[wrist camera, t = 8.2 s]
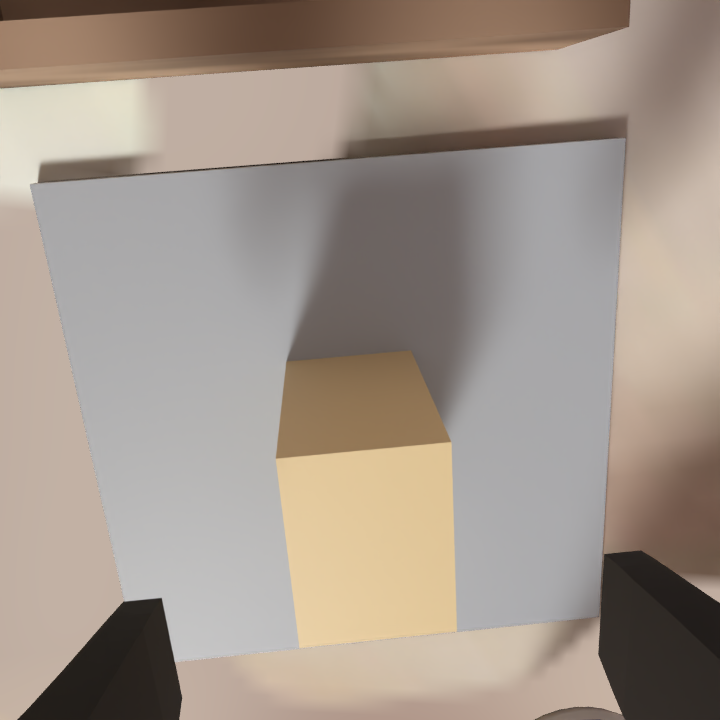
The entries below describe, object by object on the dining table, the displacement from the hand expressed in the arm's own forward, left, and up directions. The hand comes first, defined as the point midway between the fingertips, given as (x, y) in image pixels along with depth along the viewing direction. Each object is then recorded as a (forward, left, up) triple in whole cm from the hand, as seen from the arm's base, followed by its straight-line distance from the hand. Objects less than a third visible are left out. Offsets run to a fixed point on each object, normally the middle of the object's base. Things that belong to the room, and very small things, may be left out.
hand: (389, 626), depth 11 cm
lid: (0, 0, -7) cm, 7 cm away
